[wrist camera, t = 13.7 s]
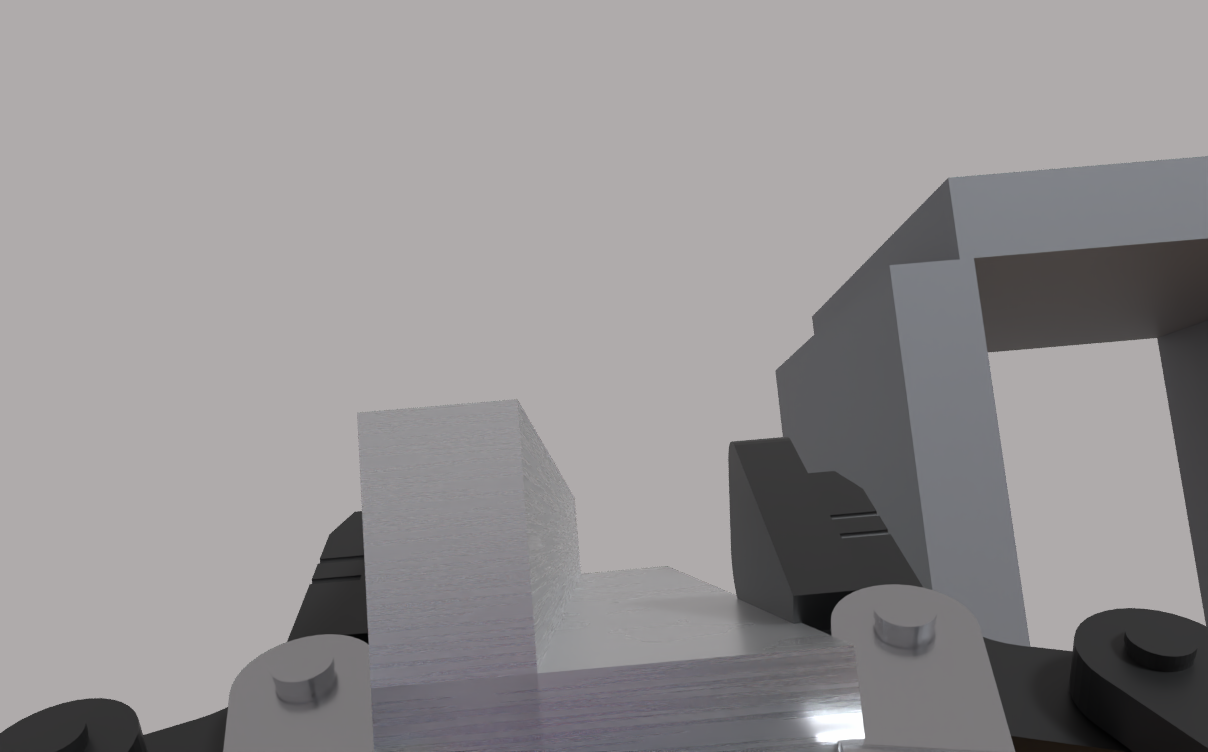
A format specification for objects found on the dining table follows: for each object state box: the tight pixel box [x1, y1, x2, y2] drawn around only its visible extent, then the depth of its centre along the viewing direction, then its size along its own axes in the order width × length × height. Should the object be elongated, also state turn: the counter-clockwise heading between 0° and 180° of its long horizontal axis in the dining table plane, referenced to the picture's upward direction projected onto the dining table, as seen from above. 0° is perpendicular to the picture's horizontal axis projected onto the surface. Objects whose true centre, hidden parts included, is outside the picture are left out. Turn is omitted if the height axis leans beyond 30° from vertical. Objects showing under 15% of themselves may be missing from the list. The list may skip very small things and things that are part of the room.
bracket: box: [357, 399, 865, 752], centre depth 17 cm, size 4×20×4 cm, turn 1°
